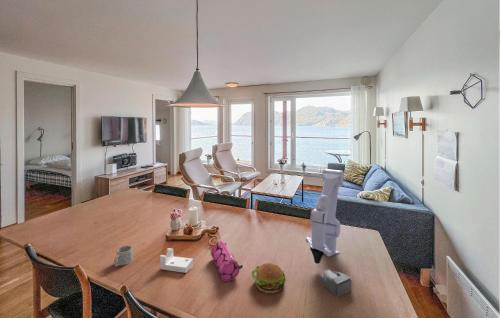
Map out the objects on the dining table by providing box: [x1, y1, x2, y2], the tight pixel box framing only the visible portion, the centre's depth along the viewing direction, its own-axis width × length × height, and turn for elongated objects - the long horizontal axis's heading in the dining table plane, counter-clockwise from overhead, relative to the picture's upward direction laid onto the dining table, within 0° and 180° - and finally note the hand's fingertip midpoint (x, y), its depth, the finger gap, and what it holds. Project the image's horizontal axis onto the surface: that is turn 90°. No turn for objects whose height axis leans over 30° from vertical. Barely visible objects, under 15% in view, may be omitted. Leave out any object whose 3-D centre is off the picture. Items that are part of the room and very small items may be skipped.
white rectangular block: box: [322, 269, 338, 279], centre depth 98 cm, size 9×4×4 cm, turn 28°
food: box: [251, 262, 286, 294], centre depth 98 cm, size 14×14×8 cm
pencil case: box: [210, 240, 244, 282], centre depth 109 cm, size 21×10×10 cm, turn 25°
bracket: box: [159, 247, 194, 274], centre depth 110 cm, size 13×7×8 cm, turn 77°
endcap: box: [318, 270, 353, 298], centre depth 97 cm, size 10×10×5 cm
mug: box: [113, 245, 134, 267], centre depth 114 cm, size 10×7×7 cm
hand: (317, 262), depth 108 cm, fingers closed
